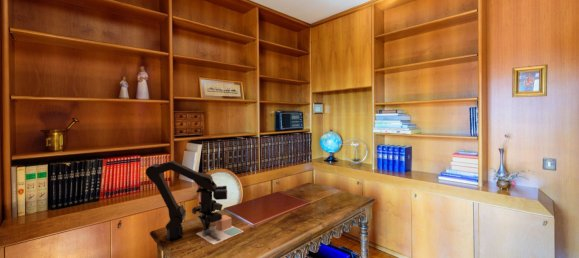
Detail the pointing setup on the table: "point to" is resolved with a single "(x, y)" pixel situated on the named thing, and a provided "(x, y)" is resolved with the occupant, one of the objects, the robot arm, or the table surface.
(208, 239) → the panel
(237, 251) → the table surface
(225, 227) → the salmon orange cube
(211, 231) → the t key
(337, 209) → the table surface
